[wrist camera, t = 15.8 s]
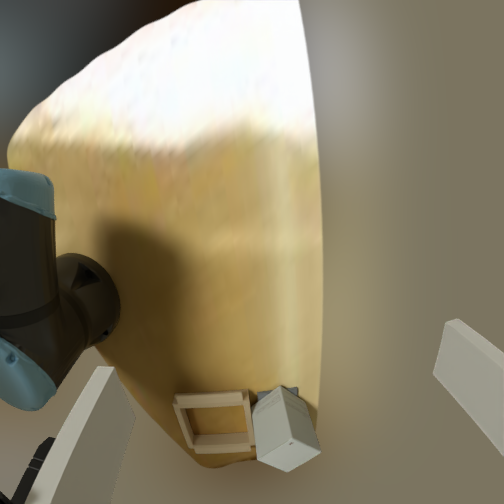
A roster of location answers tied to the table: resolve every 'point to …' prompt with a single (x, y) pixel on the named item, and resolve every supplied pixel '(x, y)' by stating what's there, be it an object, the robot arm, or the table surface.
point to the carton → (215, 441)
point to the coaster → (264, 393)
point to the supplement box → (283, 430)
